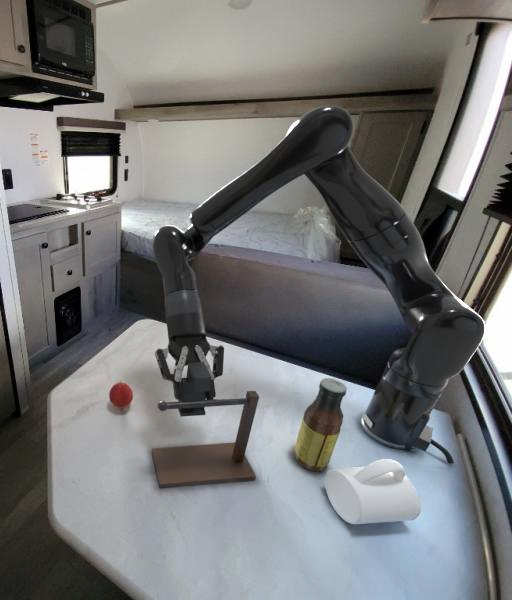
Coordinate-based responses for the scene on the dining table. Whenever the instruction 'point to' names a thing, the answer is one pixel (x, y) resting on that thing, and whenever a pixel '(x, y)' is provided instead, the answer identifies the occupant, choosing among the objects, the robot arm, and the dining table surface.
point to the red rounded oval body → (121, 395)
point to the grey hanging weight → (195, 387)
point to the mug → (373, 493)
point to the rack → (207, 450)
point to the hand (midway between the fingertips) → (195, 401)
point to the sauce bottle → (321, 426)
